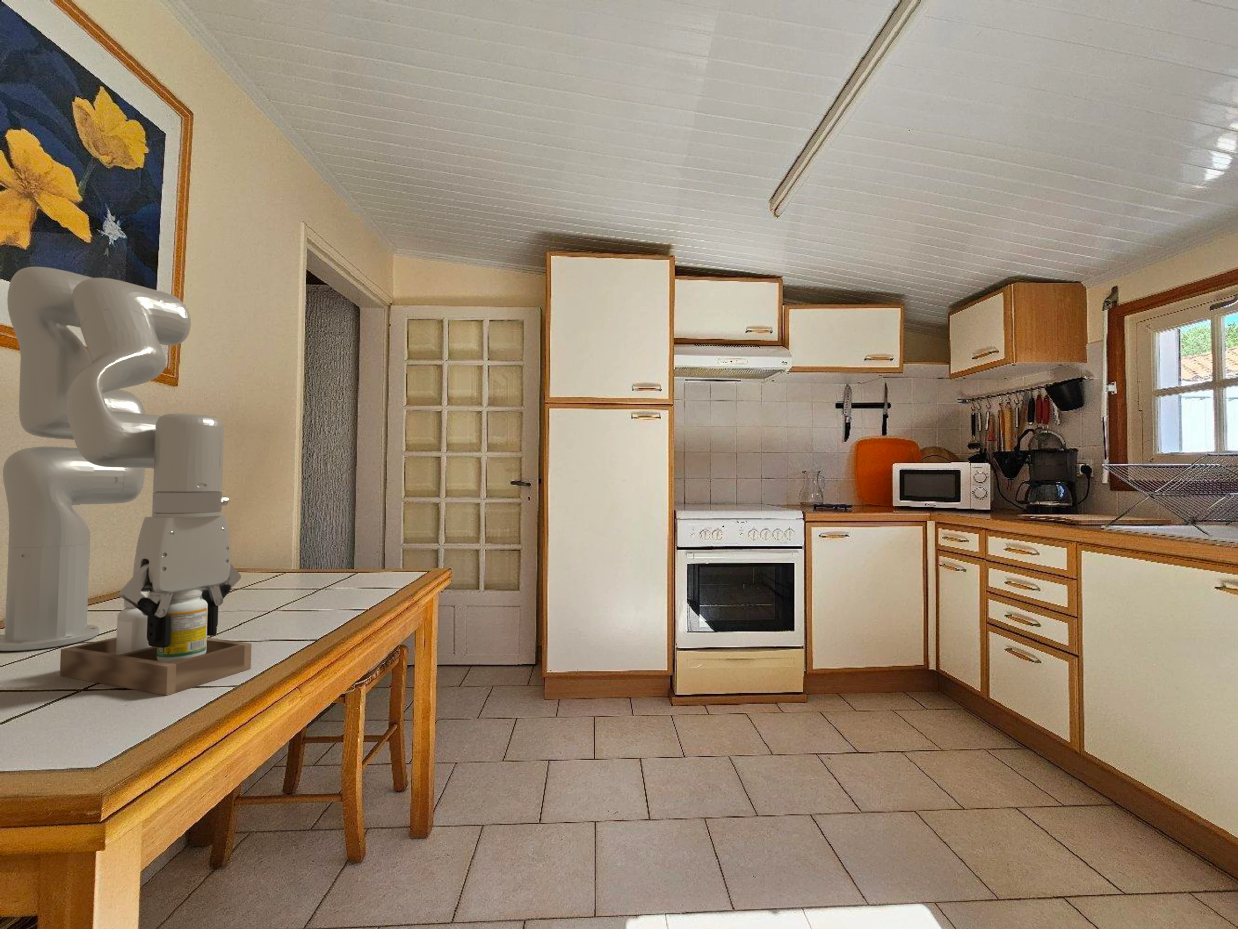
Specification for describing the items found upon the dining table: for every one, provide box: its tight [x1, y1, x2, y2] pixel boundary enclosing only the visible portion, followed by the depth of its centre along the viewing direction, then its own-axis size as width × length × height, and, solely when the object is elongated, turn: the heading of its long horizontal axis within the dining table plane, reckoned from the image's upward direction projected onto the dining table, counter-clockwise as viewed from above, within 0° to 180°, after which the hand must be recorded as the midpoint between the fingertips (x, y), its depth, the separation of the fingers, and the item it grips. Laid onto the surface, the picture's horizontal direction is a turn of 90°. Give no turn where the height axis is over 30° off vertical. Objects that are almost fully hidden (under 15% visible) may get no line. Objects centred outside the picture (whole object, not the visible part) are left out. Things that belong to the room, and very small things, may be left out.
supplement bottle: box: [157, 588, 208, 663], centre depth 78 cm, size 5×5×10 cm
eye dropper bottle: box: [116, 592, 152, 655], centre depth 81 cm, size 4×6×12 cm
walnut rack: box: [59, 636, 252, 696], centre depth 79 cm, size 21×11×4 cm, turn 71°
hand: (183, 639), depth 77 cm, fingers closed on supplement bottle, 5 cm apart
